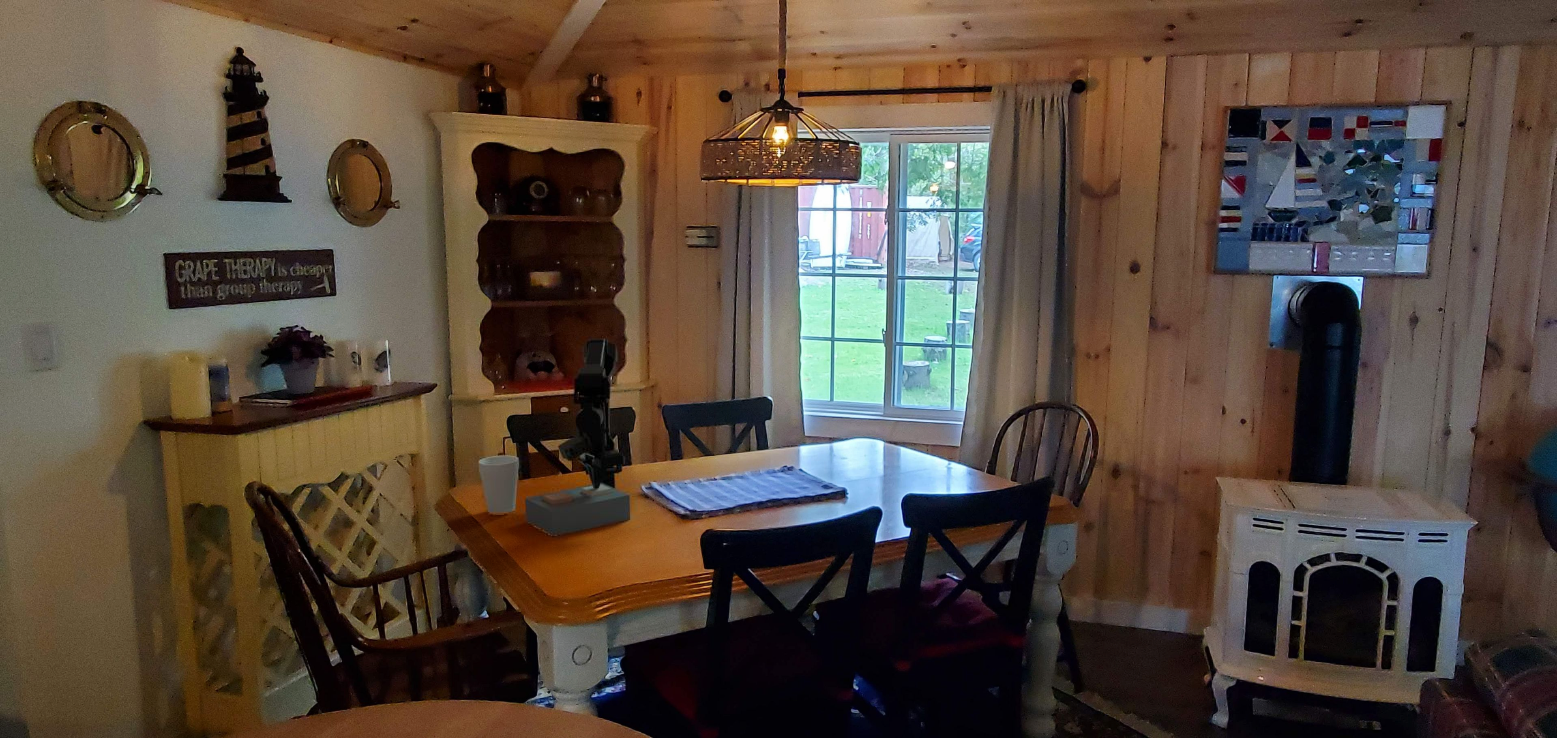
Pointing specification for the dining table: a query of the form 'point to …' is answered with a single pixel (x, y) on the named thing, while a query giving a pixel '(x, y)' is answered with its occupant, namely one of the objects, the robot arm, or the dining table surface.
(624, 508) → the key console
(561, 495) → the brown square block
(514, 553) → the dining table surface
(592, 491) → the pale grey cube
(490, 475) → the foam cup
